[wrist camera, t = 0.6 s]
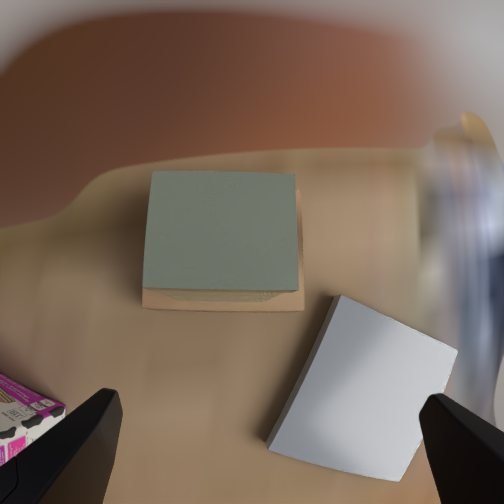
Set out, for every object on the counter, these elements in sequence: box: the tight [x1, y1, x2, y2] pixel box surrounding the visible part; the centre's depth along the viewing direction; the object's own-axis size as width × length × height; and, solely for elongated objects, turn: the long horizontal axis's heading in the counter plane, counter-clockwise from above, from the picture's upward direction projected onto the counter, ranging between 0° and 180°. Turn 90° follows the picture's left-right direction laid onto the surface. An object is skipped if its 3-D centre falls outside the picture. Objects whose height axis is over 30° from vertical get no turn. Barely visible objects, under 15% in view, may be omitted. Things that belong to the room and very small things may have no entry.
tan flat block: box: [142, 189, 304, 312], centre depth 21 cm, size 8×10×3 cm
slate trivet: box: [265, 295, 458, 482], centre depth 21 cm, size 12×12×2 cm
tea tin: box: [142, 171, 299, 303], centre depth 15 cm, size 4×5×9 cm
